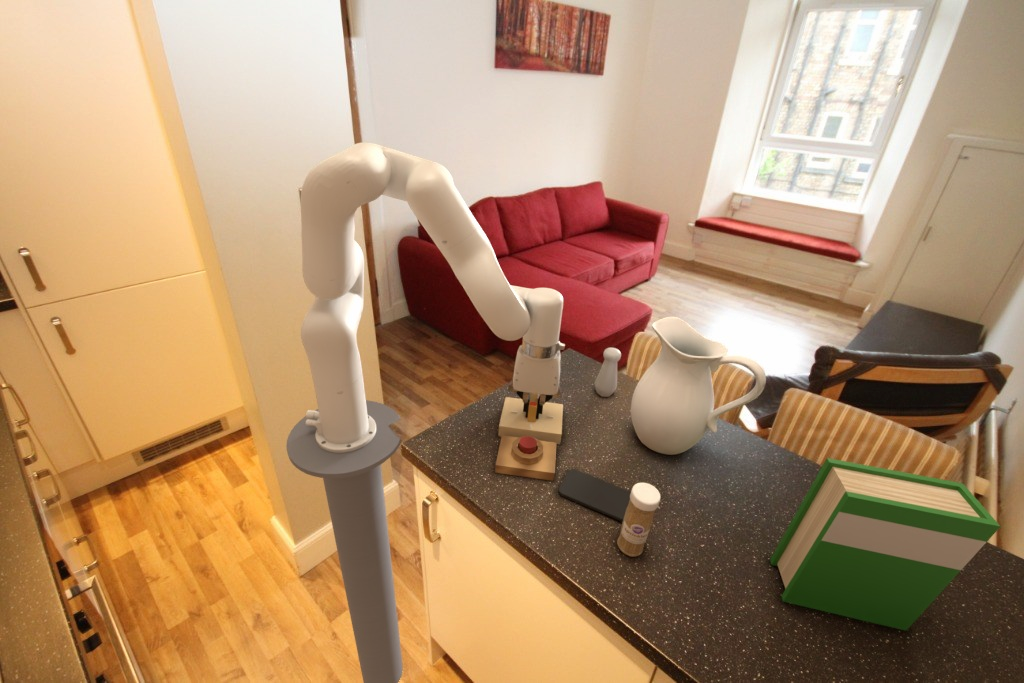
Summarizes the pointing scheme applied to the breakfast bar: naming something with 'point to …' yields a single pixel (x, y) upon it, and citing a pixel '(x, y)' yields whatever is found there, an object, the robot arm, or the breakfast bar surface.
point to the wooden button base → (526, 459)
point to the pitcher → (684, 388)
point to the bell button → (527, 445)
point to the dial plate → (541, 429)
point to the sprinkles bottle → (638, 518)
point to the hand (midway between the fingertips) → (532, 414)
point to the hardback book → (878, 542)
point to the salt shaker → (608, 373)
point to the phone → (595, 494)
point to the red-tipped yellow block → (532, 407)
